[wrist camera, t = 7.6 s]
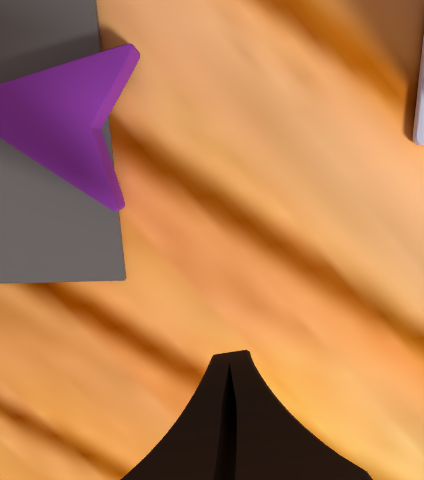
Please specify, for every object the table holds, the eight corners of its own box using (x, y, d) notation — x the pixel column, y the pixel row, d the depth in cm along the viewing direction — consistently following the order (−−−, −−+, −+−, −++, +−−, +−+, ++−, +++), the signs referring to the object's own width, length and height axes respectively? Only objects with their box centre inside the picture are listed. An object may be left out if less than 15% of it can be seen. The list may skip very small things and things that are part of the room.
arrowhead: (204, 147, 20) (97, -9, 18) (203, 146, 18) (85, -24, 16) (80, 240, 21) (-31, 106, 20) (69, 246, 20) (-52, 102, 18)
